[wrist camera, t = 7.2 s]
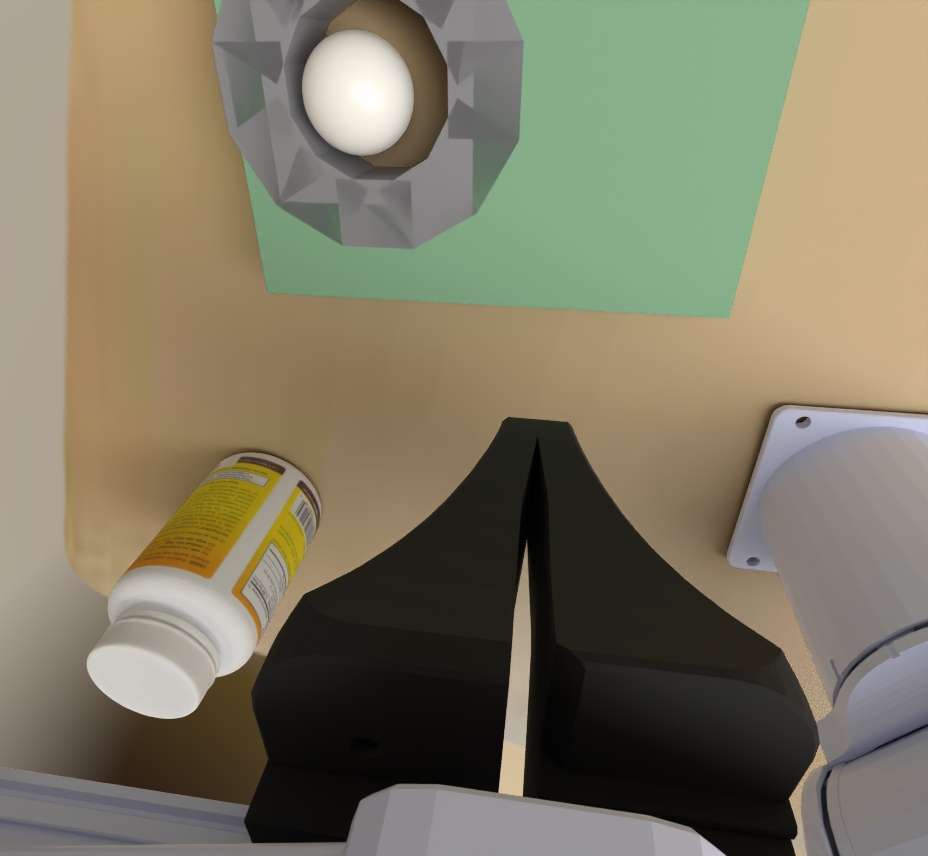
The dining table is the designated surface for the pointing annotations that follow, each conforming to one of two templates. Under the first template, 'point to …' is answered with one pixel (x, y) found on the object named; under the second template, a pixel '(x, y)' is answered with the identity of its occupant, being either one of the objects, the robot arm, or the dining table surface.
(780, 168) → the dining table surface
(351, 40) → the ball
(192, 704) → the supplement bottle
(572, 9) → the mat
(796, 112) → the dining table surface
